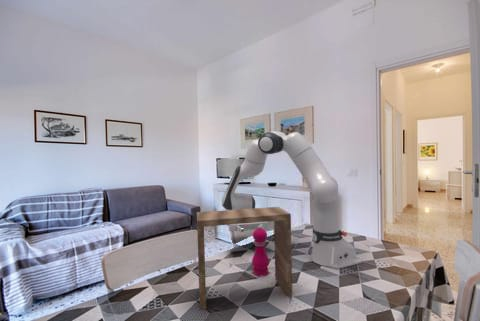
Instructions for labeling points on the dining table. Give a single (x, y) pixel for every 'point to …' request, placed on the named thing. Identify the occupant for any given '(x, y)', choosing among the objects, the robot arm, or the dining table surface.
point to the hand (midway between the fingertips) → (251, 229)
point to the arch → (250, 216)
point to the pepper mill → (260, 252)
